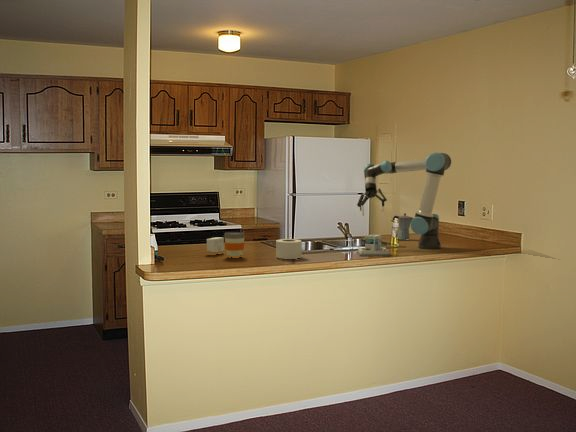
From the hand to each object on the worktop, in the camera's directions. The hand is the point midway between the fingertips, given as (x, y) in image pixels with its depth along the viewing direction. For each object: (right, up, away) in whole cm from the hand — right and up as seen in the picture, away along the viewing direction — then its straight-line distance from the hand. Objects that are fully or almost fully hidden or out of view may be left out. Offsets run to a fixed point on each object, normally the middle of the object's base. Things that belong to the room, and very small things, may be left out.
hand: (372, 212), depth 416 cm
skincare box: (-102, -27, -21) cm, 107 cm away
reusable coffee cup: (-89, -28, -35) cm, 99 cm away
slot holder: (-3, -26, -21) cm, 34 cm away
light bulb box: (-2, -25, -21) cm, 33 cm away
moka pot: (+30, -20, +52) cm, 63 cm away
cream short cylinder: (-56, -28, -37) cm, 72 cm away
